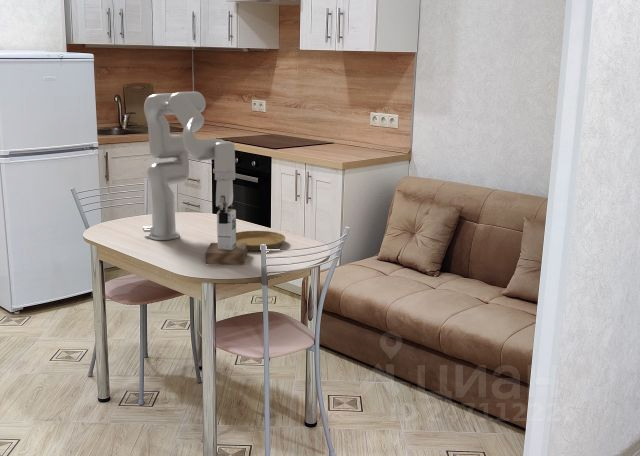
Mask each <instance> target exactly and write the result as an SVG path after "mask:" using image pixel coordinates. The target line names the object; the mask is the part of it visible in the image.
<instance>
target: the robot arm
mask: <svg viewBox="0 0 640 456" xmlns="http://www.w3.org/2000/svg"><path fill="white" fill-rule="evenodd" d="M205 109H206V98H205V97H204V95H203V94H202V93H201V92H199V91H194V90H193V91H177V92H171V93H169V92H168V93H154V94H151V95H149V96H147V97H146V98H145V101H144V105H143V112H144V116H145V119H146V123H147V127H148V128H147V129H148V132H147V133H148V145H149V146H148V147H149V154H150V155H151V157H152V158H153V159H156V160H165V159H173V160H170V161H162V162H161V161H160V162H159V161H158V162H155V163H152V164H151V165H149V167H148V168H147V171H146V173H147V175H146V176H147V180H148V183H149V184H148V185H149V188H150V201H151V203H150V206H151V226H143V227H142V231H143V232H144V233H149V234H148V238H149V239H150V240H155V241H169V240H170V241H171V240H175V239H179V237H180V232H179V231H177V230H176V229H177V228H176V224H177V223H176V206H175V205H176V202H175V201H176V200H175V194H174V192H173V190H172V189H171V188H170V185H175V184H176V185H177V184H182V183H185V182H187V181H188V179H189V177H190V162H189V161H190V160H189V159H190V158H189V155H190V157H191V158H192V159H194V160H195V161H199V162H200V161H208V160H214V162H213V163H214V165H213V166H214V180H215V181H216V188H215V189H216V191H215V206H216V207H217V208H218V211H219V223H220V224H227V223H228V213H227V209H233V202H234V201H233V200H234V185H233V183H234V182H233V181H235V180H236V153H235V152H236V151H235V150H236V147H235V143H233V142H232V141H226V140H224V139H221V138H210V139H208V138H206V139H198V138H197V137H196V136H195V135H194V133H197V132H198V131H199V130H200V129H202V127H203V126H204V123H205V118H204V116H203V114H202V112H204V111H205ZM168 115H171V116H172V115H173V116H175V117H176V118H177V120H178V121H179V123H180V125H182V127H183V130H182V135H181V134H171V130H170V129H171V127H170V123H169V121H168V120H167V118H166V117H165V116H168Z"/></svg>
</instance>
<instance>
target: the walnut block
mask: <svg viewBox="0 0 640 456" xmlns="http://www.w3.org/2000/svg"><path fill="white" fill-rule="evenodd" d="M247 255H248V251H247V243H236V246H235V247H234V248H233V249H232V250H223V249H218V242H210V244H209V245H208V247H207V248H206V250H205V253H204V258H205V260H204V261H205V265H206V264H219V265H221V266H224V265H225V266H228V265H229V266H244V265H245V262H246V258H247ZM219 265H218V266H219Z"/></svg>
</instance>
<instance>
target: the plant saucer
mask: <svg viewBox="0 0 640 456" xmlns="http://www.w3.org/2000/svg"><path fill="white" fill-rule="evenodd" d="M285 241H286V235H284V234H282V233H280V232H276V231H268V230H246V231H244V230H243V231H236V243H247V252H248V251H249V252H251V251H253V252H260V245H261V244H266V246H267V249H270V250H274V249H276V247H277V248H278V247H280V246H281V245H283V244H284V242H285Z"/></svg>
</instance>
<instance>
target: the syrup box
mask: <svg viewBox="0 0 640 456" xmlns="http://www.w3.org/2000/svg"><path fill="white" fill-rule="evenodd" d="M227 213H228V223H227V224H220V223H219V210H218V211H217V212H216V220H217V221H216V224H217V225H216V231H217V232H216V233H217V237H216V238H217V243H218V249H223V250H232V249H233V248H234V247H235V246H236V233H237V210H236V209H235V208H232V209H227Z"/></svg>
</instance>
